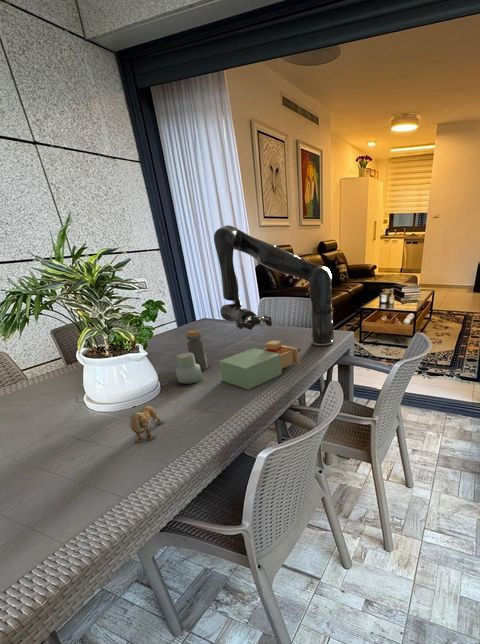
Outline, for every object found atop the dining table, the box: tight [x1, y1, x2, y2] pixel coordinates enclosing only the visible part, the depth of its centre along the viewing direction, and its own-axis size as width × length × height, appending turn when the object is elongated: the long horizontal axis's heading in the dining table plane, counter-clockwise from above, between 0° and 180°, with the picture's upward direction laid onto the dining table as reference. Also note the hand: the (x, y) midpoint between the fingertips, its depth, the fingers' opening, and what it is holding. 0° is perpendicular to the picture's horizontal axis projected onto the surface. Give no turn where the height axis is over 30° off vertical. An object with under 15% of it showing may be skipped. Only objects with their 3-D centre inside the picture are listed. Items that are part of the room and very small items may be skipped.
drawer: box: [262, 344, 301, 370], centre depth 138 cm, size 20×13×6 cm, turn 143°
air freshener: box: [175, 351, 203, 385], centre depth 127 cm, size 11×8×10 cm
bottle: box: [185, 329, 209, 371], centre depth 137 cm, size 6×6×15 cm
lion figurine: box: [128, 405, 162, 443], centre depth 95 cm, size 15×5×9 cm, turn 14°
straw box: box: [265, 339, 282, 355], centre depth 136 cm, size 4×4×8 cm
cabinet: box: [219, 347, 283, 391], centre depth 128 cm, size 17×14×8 cm
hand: (261, 325), depth 141 cm, fingers open, 8 cm apart
